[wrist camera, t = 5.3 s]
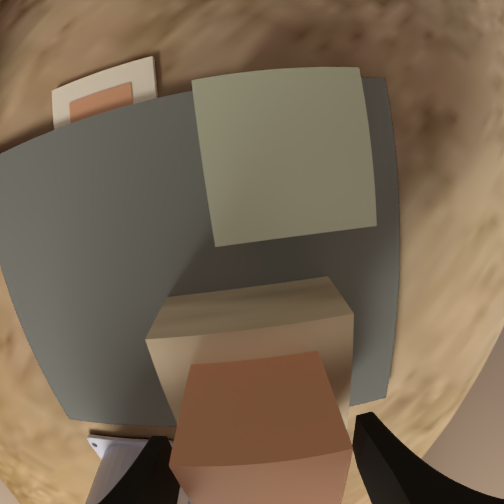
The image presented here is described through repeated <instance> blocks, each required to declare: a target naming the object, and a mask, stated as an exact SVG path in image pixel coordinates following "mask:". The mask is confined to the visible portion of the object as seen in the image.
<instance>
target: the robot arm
mask: <svg viewBox="0 0 504 504" xmlns="http://www.w3.org/2000/svg"><path fill="white" fill-rule="evenodd" d="M87 440H88V442H89V443H90V445H91V446H92V447H93V449H94V450H95V452H96V453H97V454H98V456H99V457H100V458H101V463H100V465H99V468H98V471H97V473H96V476H95V479H94V481H93V484H92V487H91V489H90V492H89V495H88V498H87V500H86V503H85V504H192V503H191V501H190V500H189V498H188V497H187V495H186V494H185V492H184V490H183V489H182V487H181V486H180V484H179V482H178V481H177V479H176V477H175V476H174V474H173V472H172V471H171V469H170V467H169V462H170V457H171V452H172V447H173V442H174V441H171V440H168V438H167V436H152V437H151V438H150V439H149V440H147V439H131V438H118V437H108V436H99V435H88V437H87ZM352 447H353V451H354V455H355V459H356V463H357V467H358V469H359V472H360V475H361V477H362V480H363V482H364V485H365V487H366V490H367V492H368V495H369V497H370V500H371V502H372V504H504V499H500V498H496V497H492V496H489V495H486V494H483V493H480V492H478V491H475V490H473V489H470V488H468V487H466V486H464V485H462V484H460V483H457V482H455V481H453V480H452V479H450V478H448V477H446V476H445V475H443V474H441V473H440V472H438V471H436V470H435V469H434V468H432V467H431V466H429V465H428V464H427V463H425V462H424V461H423V460H422V459H420V458H419V457H418V456H417V455H415V454H414V453H413V452H412V451H411V450H409V449H408V448H407V447H406V446H405V445H404V444H403V443H402V442H401V441H400V440H399V439H398V438H397V437H396V436H395V435H394V434H393V433H392V432H391V431H390V430H389V429H388V428H387V427H386V426H385V425H384V424H383V423H382V422H381V421H380V419H379V418H378V417H377V416H376V415H375V414H374V413H373V412H368V413H364V414H360V415H356V423H355V431H354V438H353V444H352Z"/></svg>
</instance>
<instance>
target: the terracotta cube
mask: <svg viewBox="0 0 504 504" xmlns="http://www.w3.org/2000/svg"><path fill="white" fill-rule="evenodd" d="M352 451H353V447H352V444H351V441H350V438H349V436H348V433H347V430H346V427H345V424H344V421H343V419H342V416H341V413H340V410H339V407H338V404H337V402H336V399H335V396H334V393H333V391H332V388H331V385H330V382H329V380H328V377H327V374H326V371H325V369H324V366H323V363H322V361H321V358H320V355H319V352H318V351H312V352H306V353H299V354H292V355H285V356H277V357H269V358H261V359H252V360H242V361H232V362H220V363H207V364H192V365H190V370H189V374H188V378H187V383H186V387H185V392H184V396H183V400H182V405H181V409H180V414H179V419H178V423H177V428H176V433H175V437H174V442H173V447H172V452H171V457H170V462H169V467H170V469H171V471H172V472H173V474H174V476H175V477H176V479H177V481H178V482H179V484H180V486H181V487H182V489H183V490H184V492H185V494H186V495H187V497H188V498H189V500H190V501H191V503H192V504H341V502H342V498H343V493H344V489H345V485H346V481H347V476H348V471H349V467H350V462H351V457H352Z"/></svg>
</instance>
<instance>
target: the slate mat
mask: <svg viewBox="0 0 504 504" xmlns="http://www.w3.org/2000/svg"><path fill="white" fill-rule="evenodd" d="M361 80H362V86H363V92H364V98H365V104H366V111H367V118H368V125H369V133H370V141H371V150H372V160H373V171H374V184H375V199H376V219H377V226H372V227H364V228H356V229H348V230H340V231H333V232H325V233H317V234H309V235H302V236H294V237H286V238H279V239H271V240H264V241H256V242H249V243H241V244H234V245H226V246H219V247H215V242H214V236H213V230H212V224H211V217H210V211H209V205H208V198H207V192H206V185H205V179H204V172H203V165H202V158H201V151H200V144H199V137H198V129H197V122H196V114H195V106H194V98H193V91H188V92H183V93H178V94H173V95H168V96H164V97H159V98H155V99H151V100H147V101H143V102H139V103H135V104H131V105H128V106H124V107H121V108H117V109H114V110H110V111H107V112H104V113H101V114H97V115H94V116H91V117H88V118H85V119H82V120H80V121H77V122H74V123H71V124H68V125H66V126H63V127H60V128H58V129H55V130H53V131H50V132H48V133H45V134H43V135H40V136H38V137H36V138H33V139H31V140H29V141H26V142H24V143H22V144H20V145H17V146H15V147H13V148H11V149H9V150H7V151H5V152H3V153H1V154H0V265H1V269H2V272H3V275H4V279H5V282H6V285H7V288H8V291H9V294H10V297H11V300H12V303H13V305H14V308H15V311H16V313H17V316H18V318H19V321H20V324H21V326H22V328H23V331H24V333H25V336H26V338H27V340H28V342H29V345H30V347H31V349H32V351H33V353H34V356H35V358H36V360H37V362H38V364H39V366H40V368H41V370H42V372H43V374H44V376H45V378H46V380H47V381H48V383H49V385H50V387H51V389H52V391H53V392H54V394H55V396H56V398H57V399H58V401H59V403H60V405H61V406H62V408H63V410H64V411H65V413H66V415H67V416H68V418H69V419H71V420H79V421H87V422H96V423H106V424H119V425H135V426H177V422H176V420H175V417H174V415H173V413H172V410H171V408H170V405H169V403H168V401H167V398H166V396H165V393H164V391H163V388H162V385H161V383H160V380H159V377H158V375H157V372H156V369H155V367H154V364H153V361H152V358H151V355H150V352H149V350H148V347H147V344H146V341H145V338H146V336H147V334H148V332H149V331H150V329H151V327H152V325H153V323H154V321H155V319H156V317H157V315H158V313H159V311H160V309H161V307H162V305H163V303H164V302H165V300H166V298H167V297H171V296H180V295H189V294H198V293H206V292H215V291H223V290H231V289H239V288H246V287H254V286H262V285H269V284H276V283H284V282H291V281H298V280H305V279H311V278H318V277H325V276H328V277H329V278H330V280H331V281H332V283H333V284H334V286H335V287H336V288H337V290H338V291H339V293H340V294H341V296H342V297H343V298H344V300H345V301H346V303H347V304H348V306H349V307H350V309H351V310H352V312H353V313H354V330H353V357H352V375H351V390H350V402H349V407H350V406H354V405H359V404H363V403H367V402H371V401H375V400H378V399H382V398H386V394H387V388H388V382H389V376H390V369H391V362H392V355H393V347H394V338H395V329H396V318H397V305H398V290H399V266H400V212H399V189H398V173H397V161H396V150H395V141H394V132H393V124H392V117H391V110H390V103H389V97H388V91H387V85H386V80H385V78H371V77H361Z"/></svg>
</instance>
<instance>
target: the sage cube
mask: <svg viewBox="0 0 504 504" xmlns="http://www.w3.org/2000/svg"><path fill="white" fill-rule="evenodd" d="M191 82H192V90H193V98H194V106H195V114H196V122H197V129H198V137H199V144H200V151H201V158H202V165H203V172H204V179H205V185H206V192H207V198H208V205H209V211H210V217H211V224H212V230H213V236H214V242H215V247H219V246H226V245H234V244H241V243H249V242H256V241H264V240H271V239H279V238H286V237H294V236H302V235H309V234H317V233H325V232H333V231H340V230H348V229H356V228H364V227H372V226H377V219H376V199H375V184H374V171H373V160H372V150H371V141H370V133H369V125H368V118H367V111H366V104H365V98H364V92H363V86H362V80H361V75H360V70H359V67H303V68H284V69H270V70H259V71H250V72H241V73H233V74H226V75H219V76H213V77H207V78H201V79H195V80H191Z"/></svg>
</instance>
